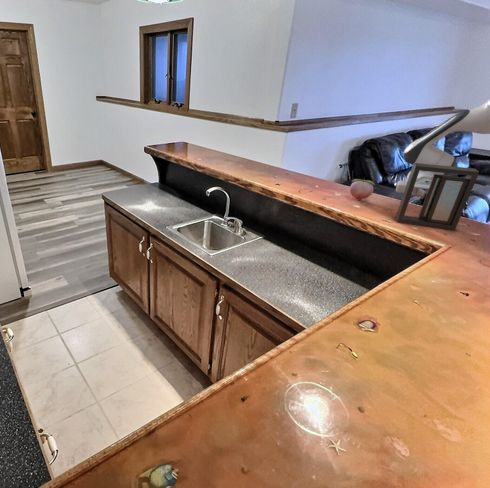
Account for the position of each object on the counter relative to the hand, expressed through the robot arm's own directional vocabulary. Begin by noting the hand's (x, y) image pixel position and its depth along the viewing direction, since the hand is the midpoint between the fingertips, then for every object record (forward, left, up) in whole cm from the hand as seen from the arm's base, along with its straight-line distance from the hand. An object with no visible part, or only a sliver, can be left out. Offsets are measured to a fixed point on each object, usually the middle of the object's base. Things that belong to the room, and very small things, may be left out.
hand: (430, 195), depth 129 cm
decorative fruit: (+21, -16, -10) cm, 29 cm away
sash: (-2, +1, -8) cm, 9 cm away
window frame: (0, +4, -10) cm, 11 cm away
